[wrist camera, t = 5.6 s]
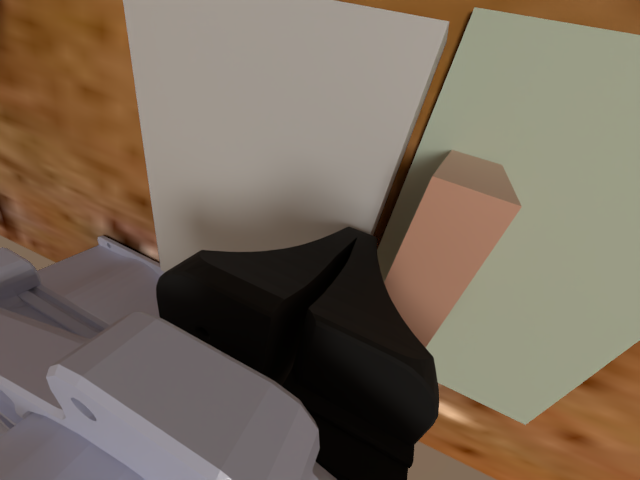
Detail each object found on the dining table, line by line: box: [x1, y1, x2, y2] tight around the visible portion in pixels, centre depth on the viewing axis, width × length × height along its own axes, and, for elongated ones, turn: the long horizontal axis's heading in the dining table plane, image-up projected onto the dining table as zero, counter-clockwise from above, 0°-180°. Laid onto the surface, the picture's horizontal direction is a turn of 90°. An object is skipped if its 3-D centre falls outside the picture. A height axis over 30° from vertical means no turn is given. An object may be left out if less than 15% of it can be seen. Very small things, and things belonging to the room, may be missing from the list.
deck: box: [123, 0, 449, 272], centre depth 14 cm, size 13×16×3 cm
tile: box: [384, 150, 522, 348], centre depth 11 cm, size 6×9×2 cm
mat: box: [377, 7, 640, 425], centre depth 13 cm, size 12×18×1 cm, turn 167°
